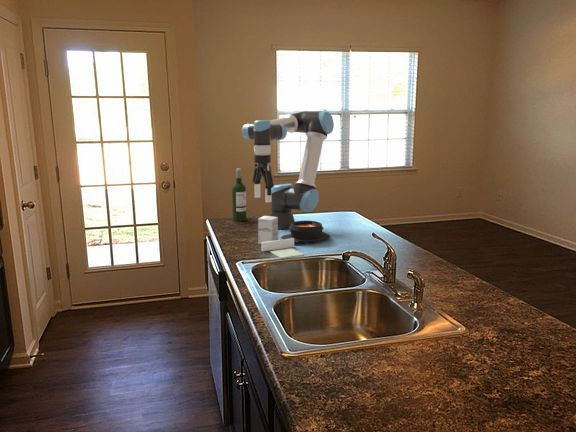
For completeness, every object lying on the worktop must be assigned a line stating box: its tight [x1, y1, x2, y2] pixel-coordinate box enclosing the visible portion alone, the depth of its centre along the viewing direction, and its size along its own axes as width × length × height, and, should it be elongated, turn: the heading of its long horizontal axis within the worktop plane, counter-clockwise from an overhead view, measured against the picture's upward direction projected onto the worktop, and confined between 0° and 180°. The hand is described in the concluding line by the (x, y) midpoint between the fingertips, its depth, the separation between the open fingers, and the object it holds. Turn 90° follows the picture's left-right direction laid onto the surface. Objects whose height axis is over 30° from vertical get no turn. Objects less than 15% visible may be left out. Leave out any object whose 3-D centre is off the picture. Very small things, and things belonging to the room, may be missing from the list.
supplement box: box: [257, 215, 279, 245], centre depth 229 cm, size 7×7×13 cm
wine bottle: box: [231, 167, 247, 222], centre depth 277 cm, size 8×8×30 cm
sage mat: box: [269, 247, 304, 260], centre depth 212 cm, size 11×11×1 cm
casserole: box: [280, 220, 332, 244], centre depth 235 cm, size 25×19×8 cm
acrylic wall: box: [260, 238, 295, 252], centre depth 220 cm, size 16×1×4 cm, turn 116°
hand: (262, 199), depth 226 cm, fingers open, 13 cm apart
